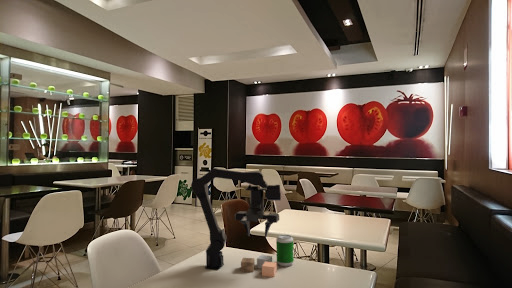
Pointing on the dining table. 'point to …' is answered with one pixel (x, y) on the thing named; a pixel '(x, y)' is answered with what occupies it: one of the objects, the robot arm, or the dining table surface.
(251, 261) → the walnut block
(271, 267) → the terracotta block
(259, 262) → the slate block
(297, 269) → the dining table surface
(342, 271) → the dining table surface
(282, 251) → the soda can
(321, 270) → the dining table surface
